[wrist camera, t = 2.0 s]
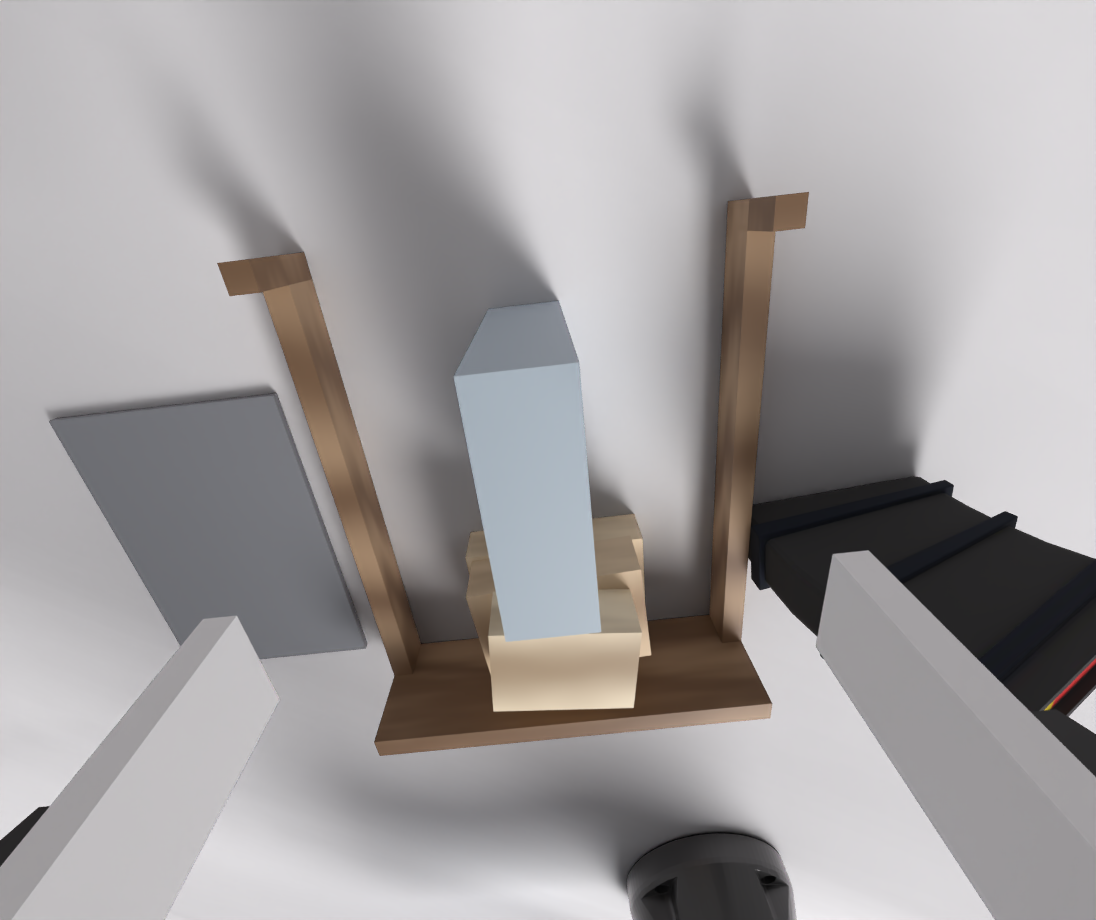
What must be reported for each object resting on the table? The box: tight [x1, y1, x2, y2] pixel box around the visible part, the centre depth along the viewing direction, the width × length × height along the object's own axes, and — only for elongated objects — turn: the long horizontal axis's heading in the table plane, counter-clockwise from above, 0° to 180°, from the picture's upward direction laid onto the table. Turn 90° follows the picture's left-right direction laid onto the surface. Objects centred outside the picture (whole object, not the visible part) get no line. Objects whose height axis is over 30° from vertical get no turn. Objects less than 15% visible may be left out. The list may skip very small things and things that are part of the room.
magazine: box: [748, 476, 1096, 717], centre depth 25 cm, size 4×13×15 cm, turn 101°
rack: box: [217, 192, 809, 756], centre depth 25 cm, size 26×22×7 cm
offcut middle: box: [466, 535, 651, 674], centre depth 28 cm, size 6×9×3 cm, turn 100°
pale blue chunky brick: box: [454, 301, 601, 642], centre depth 21 cm, size 10×4×12 cm, turn 6°
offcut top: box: [488, 589, 642, 712], centre depth 25 cm, size 5×7×3 cm
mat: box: [49, 393, 367, 659], centre depth 30 cm, size 18×12×1 cm, turn 6°
